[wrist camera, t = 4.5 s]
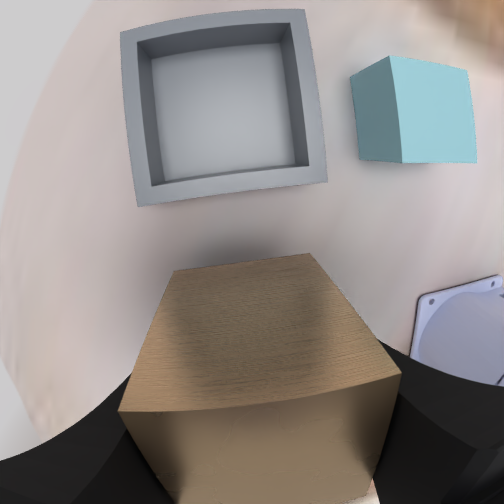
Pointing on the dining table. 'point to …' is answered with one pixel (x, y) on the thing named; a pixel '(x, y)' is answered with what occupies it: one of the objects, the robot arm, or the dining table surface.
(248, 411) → the wooden block
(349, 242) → the dining table surface
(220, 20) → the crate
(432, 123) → the pale teal cube
